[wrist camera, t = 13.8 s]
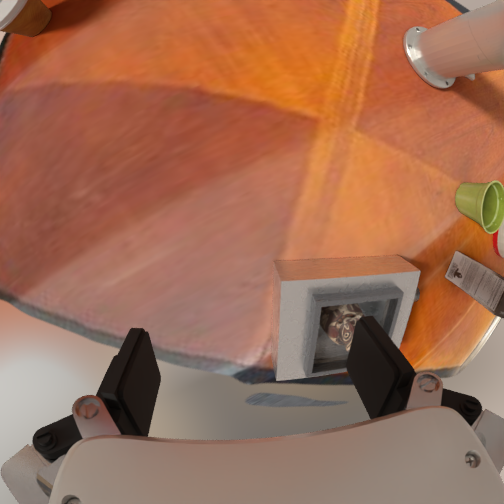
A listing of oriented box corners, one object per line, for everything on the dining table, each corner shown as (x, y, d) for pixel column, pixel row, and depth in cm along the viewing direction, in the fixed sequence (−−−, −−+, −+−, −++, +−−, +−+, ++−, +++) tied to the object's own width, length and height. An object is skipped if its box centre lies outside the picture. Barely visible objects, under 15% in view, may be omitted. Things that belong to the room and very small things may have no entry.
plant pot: (477, 174, 38) (507, 181, 30) (475, 219, 41) (504, 231, 33) (449, 173, 38) (482, 180, 29) (448, 223, 41) (479, 236, 33)
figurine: (354, 284, 42) (388, 325, 31) (356, 319, 44) (385, 362, 33) (313, 297, 42) (338, 343, 31) (318, 331, 44) (340, 379, 33)
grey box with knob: (410, 254, 42) (441, 274, 34) (390, 337, 48) (411, 364, 40) (273, 260, 41) (284, 288, 32) (270, 353, 47) (278, 389, 38)
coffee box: (475, 260, 44) (524, 290, 29) (464, 286, 46) (509, 321, 31) (455, 249, 43) (510, 281, 28) (443, 277, 45) (493, 316, 30)
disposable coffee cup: (54, -4, 20) (24, -26, 8) (62, 19, 23) (27, -4, 12) (19, 28, 21) (-15, 14, 9) (25, 53, 24) (-14, 40, 12)
